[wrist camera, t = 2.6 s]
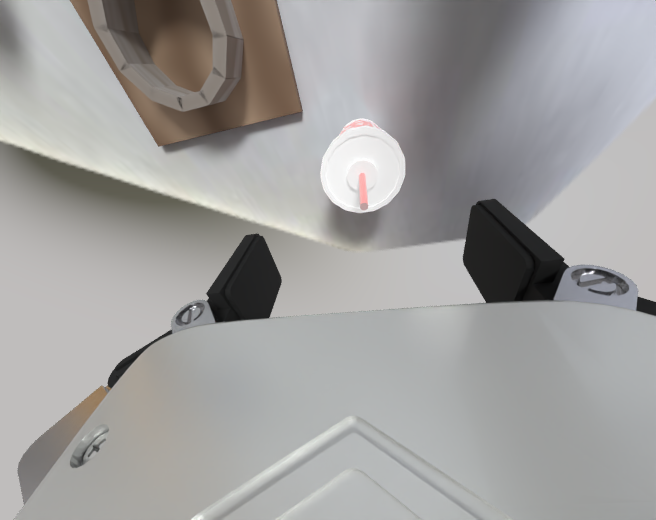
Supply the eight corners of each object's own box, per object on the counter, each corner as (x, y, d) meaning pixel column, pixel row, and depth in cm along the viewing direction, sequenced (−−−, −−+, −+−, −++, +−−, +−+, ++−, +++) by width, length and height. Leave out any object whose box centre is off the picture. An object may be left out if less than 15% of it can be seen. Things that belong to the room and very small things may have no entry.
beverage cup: (321, 161, 25) (296, 230, 14) (344, 96, 22) (334, 125, 11) (372, 183, 26) (384, 262, 16) (403, 125, 23) (447, 178, 12)
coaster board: (238, -160, 14) (206, -223, 11) (302, 110, 23) (294, 117, 19) (43, -59, 17) (-25, -87, 14) (163, 144, 26) (137, 155, 23)
